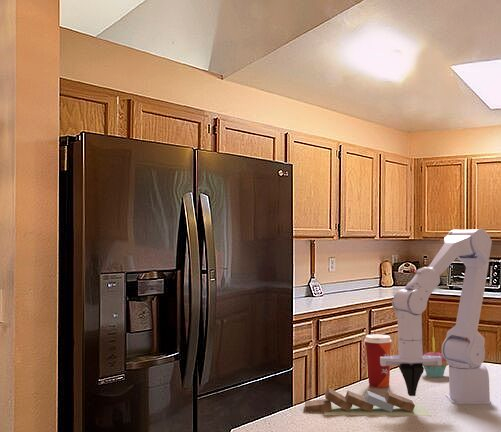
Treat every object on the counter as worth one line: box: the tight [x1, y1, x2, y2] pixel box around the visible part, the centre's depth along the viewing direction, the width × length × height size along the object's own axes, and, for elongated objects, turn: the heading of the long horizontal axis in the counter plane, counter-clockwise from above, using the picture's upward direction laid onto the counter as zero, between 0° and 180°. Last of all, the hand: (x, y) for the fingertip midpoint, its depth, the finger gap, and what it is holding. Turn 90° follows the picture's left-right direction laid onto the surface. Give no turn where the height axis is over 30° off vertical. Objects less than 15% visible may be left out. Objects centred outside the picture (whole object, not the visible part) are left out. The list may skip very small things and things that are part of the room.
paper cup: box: [364, 333, 393, 389], centre depth 173 cm, size 8×8×14 cm
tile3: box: [344, 390, 374, 412], centre depth 149 cm, size 2×4×6 cm
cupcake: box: [423, 334, 449, 378], centre depth 184 cm, size 9×8×12 cm
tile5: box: [304, 398, 332, 413], centre depth 150 cm, size 2×4×6 cm
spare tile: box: [364, 390, 394, 412], centre depth 149 cm, size 2×4×6 cm
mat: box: [323, 403, 432, 417], centre depth 149 cm, size 25×9×1 cm, turn 84°
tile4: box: [324, 387, 352, 412], centre depth 150 cm, size 2×4×6 cm
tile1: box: [384, 390, 416, 412], centre depth 148 cm, size 2×4×6 cm
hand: (411, 395), depth 148 cm, fingers closed
